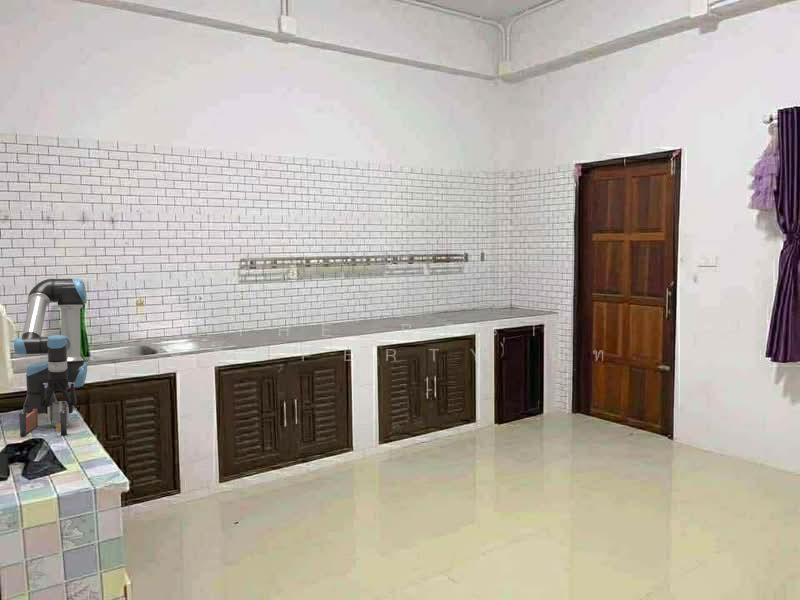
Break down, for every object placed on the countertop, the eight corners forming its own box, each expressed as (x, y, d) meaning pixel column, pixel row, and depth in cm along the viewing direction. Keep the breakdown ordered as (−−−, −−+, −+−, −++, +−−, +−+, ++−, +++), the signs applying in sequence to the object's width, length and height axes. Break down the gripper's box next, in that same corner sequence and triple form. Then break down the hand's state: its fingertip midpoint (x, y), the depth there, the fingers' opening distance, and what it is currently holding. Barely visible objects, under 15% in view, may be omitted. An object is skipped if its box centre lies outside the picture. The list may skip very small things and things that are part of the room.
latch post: (58, 434, 285) (58, 410, 284) (68, 433, 285) (67, 410, 284) (56, 436, 281) (55, 412, 280) (65, 436, 282) (65, 412, 281)
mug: (69, 420, 301) (68, 395, 300) (71, 427, 291) (70, 401, 290) (50, 422, 297) (49, 396, 296) (51, 430, 287) (50, 403, 286)
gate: (26, 433, 282) (26, 416, 282) (22, 434, 282) (22, 416, 281) (37, 425, 295) (37, 408, 295) (34, 425, 295) (33, 408, 294)
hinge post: (21, 435, 282) (20, 411, 281) (28, 435, 282) (27, 411, 281) (18, 437, 279) (17, 412, 278) (25, 436, 280) (24, 412, 279)
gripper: (30, 372, 286) (32, 423, 288) (79, 371, 289) (80, 422, 292) (36, 368, 293) (38, 418, 296) (84, 368, 297) (85, 417, 299)
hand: (59, 420), depth 294 cm, fingers closed on mug, 7 cm apart
